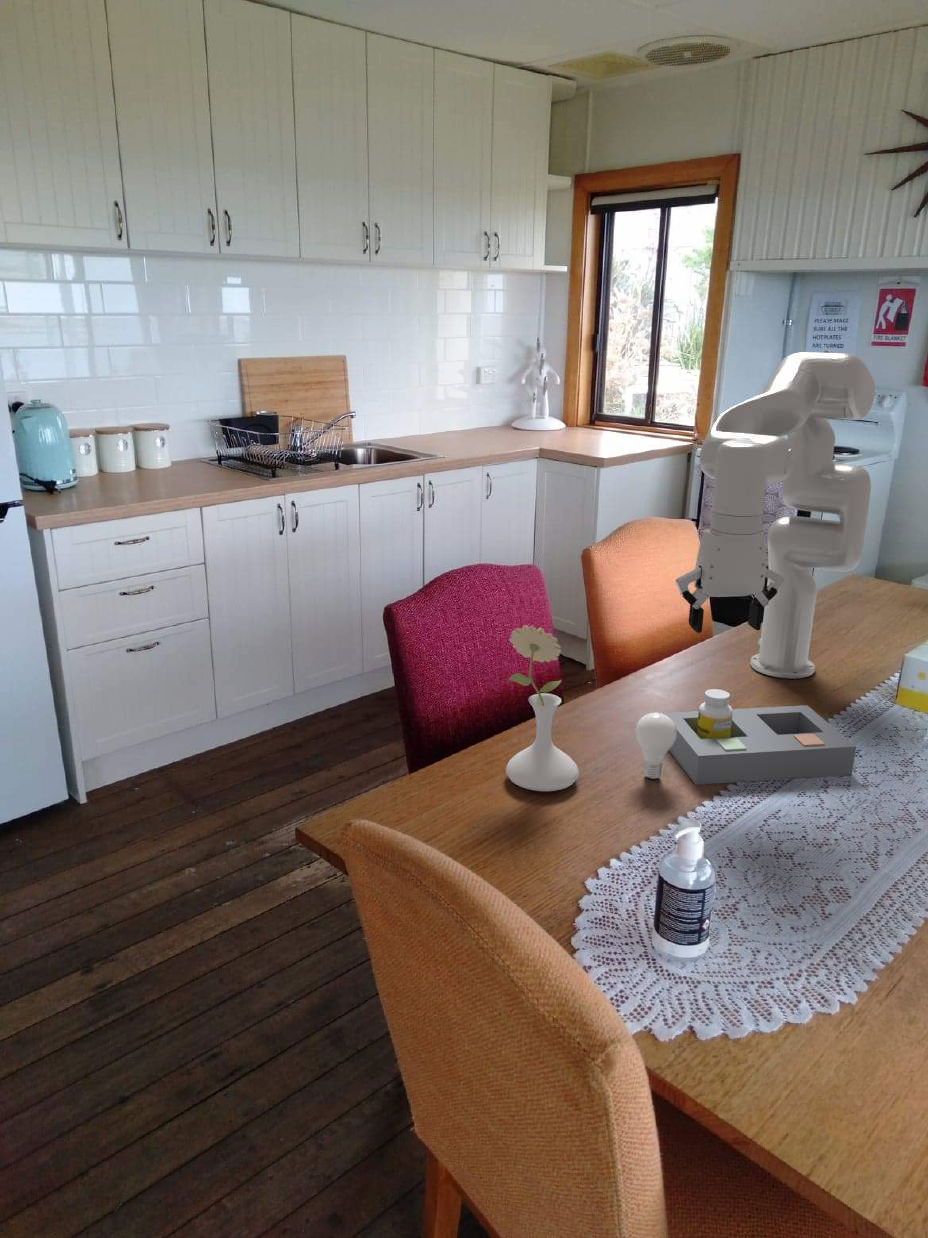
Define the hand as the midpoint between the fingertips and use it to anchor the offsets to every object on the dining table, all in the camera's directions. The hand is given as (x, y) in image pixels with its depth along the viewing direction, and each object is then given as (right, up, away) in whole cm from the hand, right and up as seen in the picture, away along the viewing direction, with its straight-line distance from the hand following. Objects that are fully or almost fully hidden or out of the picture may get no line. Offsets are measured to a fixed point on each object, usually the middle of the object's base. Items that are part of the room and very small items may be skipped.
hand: (725, 628), depth 147 cm
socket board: (+6, -21, +6) cm, 23 cm away
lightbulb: (-12, -24, -1) cm, 26 cm away
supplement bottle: (0, -20, +7) cm, 21 cm away
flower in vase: (-30, -24, -1) cm, 38 cm away
